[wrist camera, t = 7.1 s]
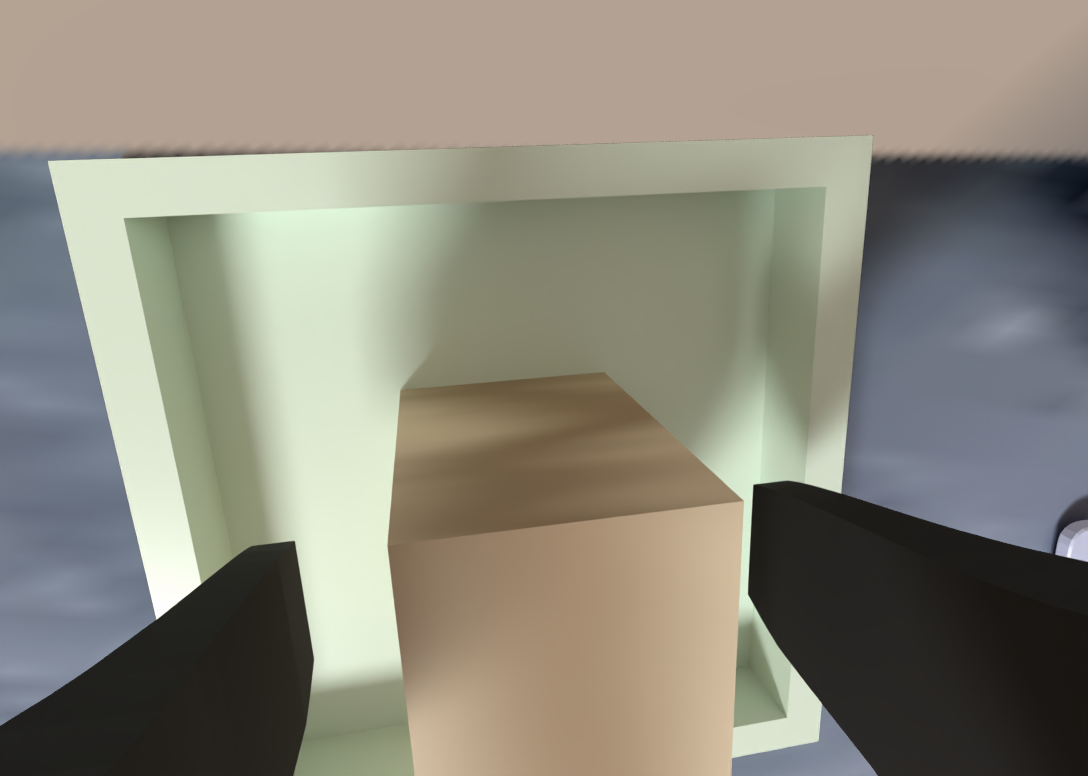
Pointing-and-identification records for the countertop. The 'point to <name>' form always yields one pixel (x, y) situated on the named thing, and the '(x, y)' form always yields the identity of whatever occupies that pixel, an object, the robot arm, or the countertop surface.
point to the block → (561, 584)
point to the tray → (454, 354)
